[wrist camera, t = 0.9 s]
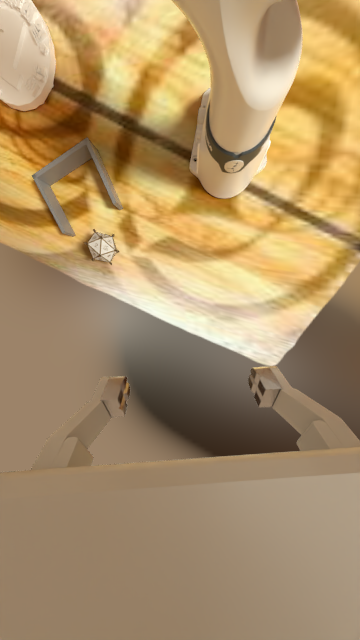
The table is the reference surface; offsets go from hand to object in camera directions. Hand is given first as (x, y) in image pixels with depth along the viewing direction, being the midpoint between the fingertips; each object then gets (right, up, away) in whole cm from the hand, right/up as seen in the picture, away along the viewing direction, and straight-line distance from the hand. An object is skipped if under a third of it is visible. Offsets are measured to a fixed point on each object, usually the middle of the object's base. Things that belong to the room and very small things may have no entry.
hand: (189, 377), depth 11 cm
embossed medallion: (-40, +68, +30) cm, 84 cm away
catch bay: (-28, +39, +36) cm, 60 cm away
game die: (-22, +25, +39) cm, 52 cm away
